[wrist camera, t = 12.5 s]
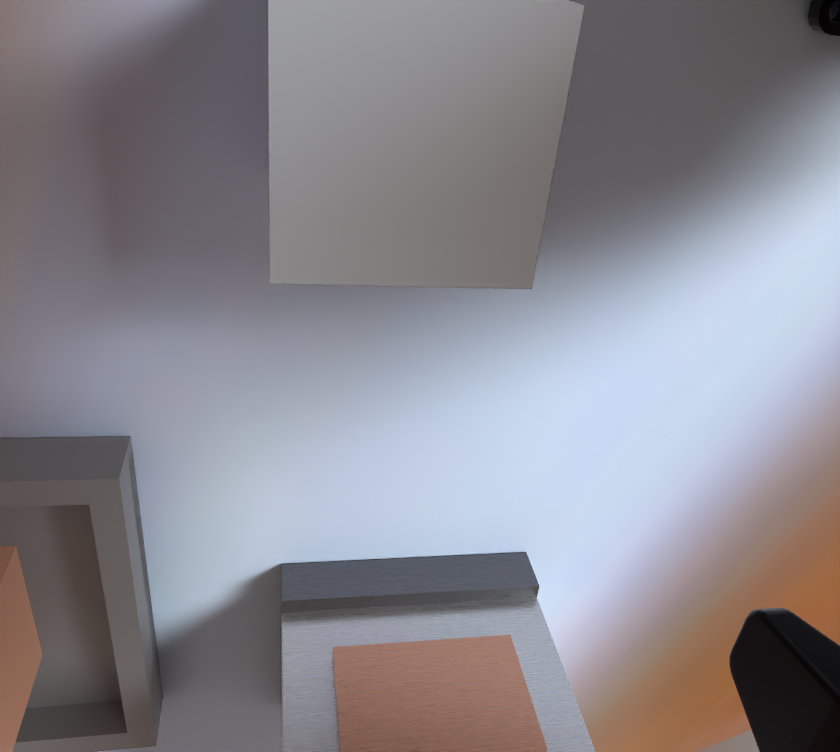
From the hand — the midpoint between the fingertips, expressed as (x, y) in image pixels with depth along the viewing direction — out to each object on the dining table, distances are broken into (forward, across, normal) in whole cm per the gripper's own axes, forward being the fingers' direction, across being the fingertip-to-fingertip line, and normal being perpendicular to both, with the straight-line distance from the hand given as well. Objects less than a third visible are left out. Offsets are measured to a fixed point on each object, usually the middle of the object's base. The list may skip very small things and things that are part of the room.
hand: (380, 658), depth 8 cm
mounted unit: (+12, -3, +14) cm, 19 cm away
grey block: (+12, -1, -4) cm, 13 cm away
